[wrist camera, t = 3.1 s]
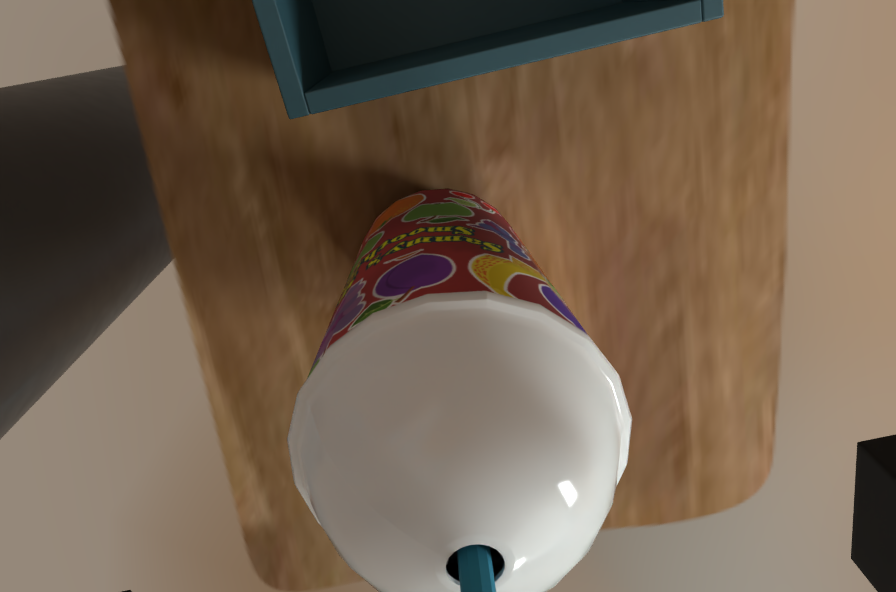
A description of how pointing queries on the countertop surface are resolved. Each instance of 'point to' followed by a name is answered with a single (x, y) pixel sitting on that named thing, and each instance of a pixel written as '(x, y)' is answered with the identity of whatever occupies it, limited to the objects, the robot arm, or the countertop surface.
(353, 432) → the smoothie
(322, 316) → the countertop surface
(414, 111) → the countertop surface
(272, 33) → the dark teal open box
